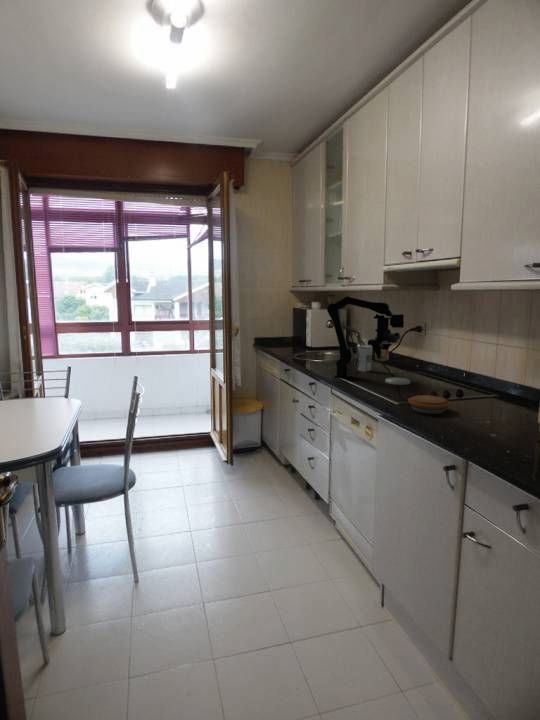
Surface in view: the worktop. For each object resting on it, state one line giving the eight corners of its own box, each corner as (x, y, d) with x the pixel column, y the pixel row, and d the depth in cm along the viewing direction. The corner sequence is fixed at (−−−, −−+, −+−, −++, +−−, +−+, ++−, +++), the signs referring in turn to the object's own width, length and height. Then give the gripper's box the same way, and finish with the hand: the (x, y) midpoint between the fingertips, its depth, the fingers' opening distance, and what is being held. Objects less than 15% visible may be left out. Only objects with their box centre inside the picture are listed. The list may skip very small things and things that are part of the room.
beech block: (383, 360, 227) (383, 351, 226) (374, 359, 231) (375, 350, 230) (388, 359, 231) (388, 350, 230) (380, 358, 234) (380, 349, 233)
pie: (437, 404, 181) (438, 392, 180) (457, 415, 166) (458, 402, 165) (400, 405, 179) (401, 393, 179) (417, 416, 164) (418, 403, 163)
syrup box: (363, 369, 261) (363, 344, 258) (371, 370, 256) (372, 345, 254) (357, 370, 257) (358, 345, 254) (365, 372, 252) (366, 346, 250)
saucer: (402, 385, 216) (402, 383, 216) (380, 382, 224) (380, 380, 224) (414, 382, 224) (414, 380, 224) (393, 379, 233) (393, 376, 233)
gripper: (387, 329, 216) (386, 361, 218) (406, 327, 229) (405, 357, 231) (367, 328, 224) (366, 359, 226) (386, 326, 237) (385, 355, 239)
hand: (381, 357), depth 230 cm, fingers closed on beech block, 5 cm apart
